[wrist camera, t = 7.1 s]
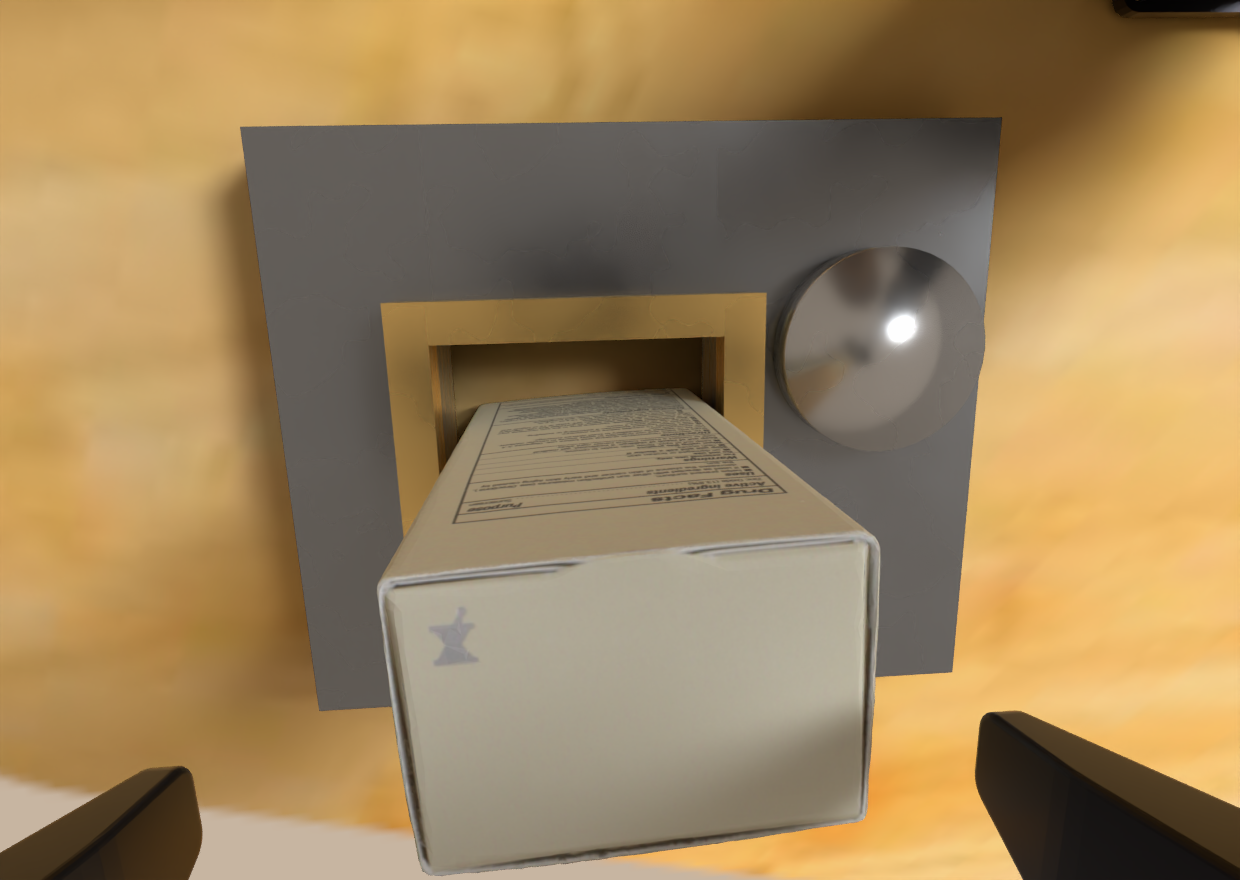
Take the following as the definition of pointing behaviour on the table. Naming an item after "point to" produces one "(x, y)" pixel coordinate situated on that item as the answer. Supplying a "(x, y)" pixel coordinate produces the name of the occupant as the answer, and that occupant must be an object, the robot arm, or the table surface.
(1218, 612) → the table surface
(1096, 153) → the table surface
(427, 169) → the grey slotted board
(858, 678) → the skincare box
